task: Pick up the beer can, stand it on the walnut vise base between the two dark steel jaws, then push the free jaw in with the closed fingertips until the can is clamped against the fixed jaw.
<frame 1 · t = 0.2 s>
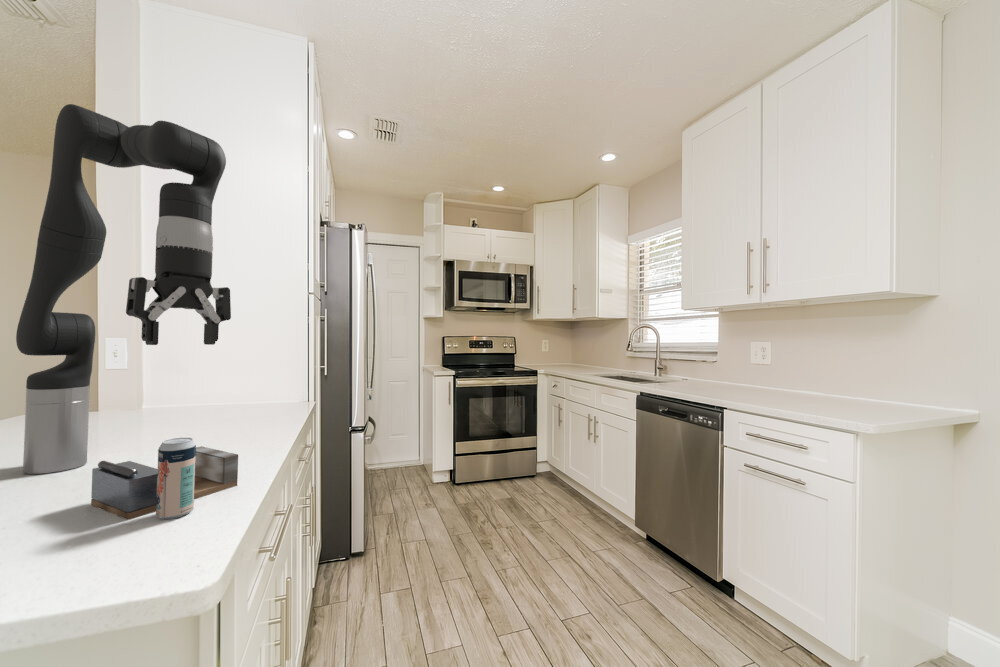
hand: (182, 344, 68), 28 cm above the table, fingers open, 8 cm apart
free jaw: (130, 480, 68), point 4 cm above the table, slide at 0.0 cm
beer can: (175, 515, 66), on the table
vise base: (169, 494, 73), on the table
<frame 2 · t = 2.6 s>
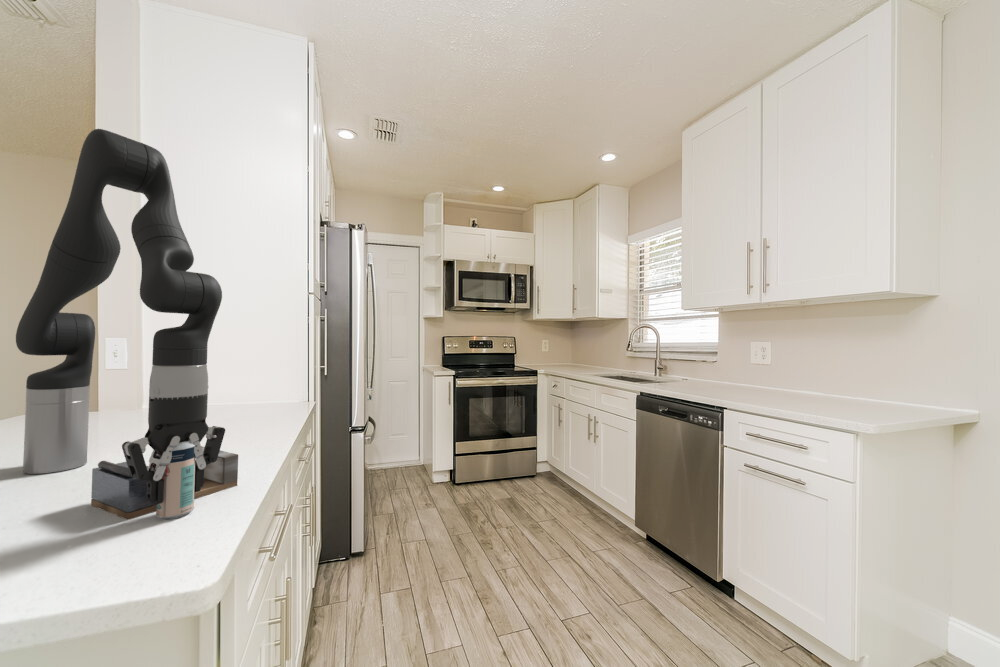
hand: (175, 496, 66), 3 cm above the table, fingers closed on beer can, 4 cm apart
beer can: (175, 515, 66), on the table, touching gripper
everything else where it was.
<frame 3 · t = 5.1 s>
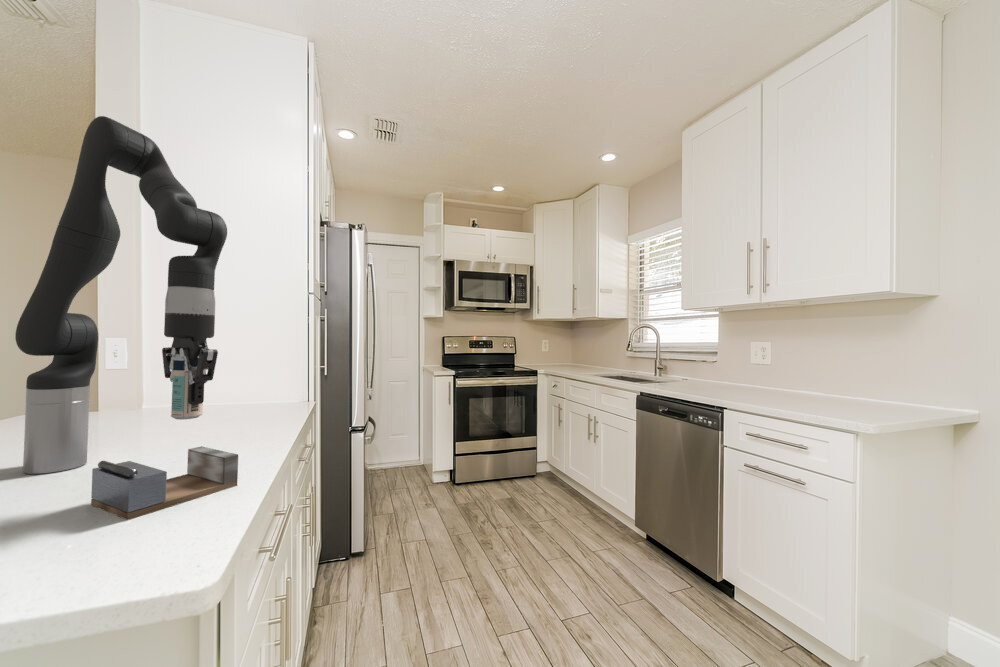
hand: (187, 402, 76), 16 cm above the table, fingers closed on beer can, 4 cm apart
beer can: (186, 418, 76), point 13 cm above the table, touching gripper
everything else where it was.
when the fingers open (5 cm above the table, at t = 7.5 s): beer can stays where it is, resting on vise base.
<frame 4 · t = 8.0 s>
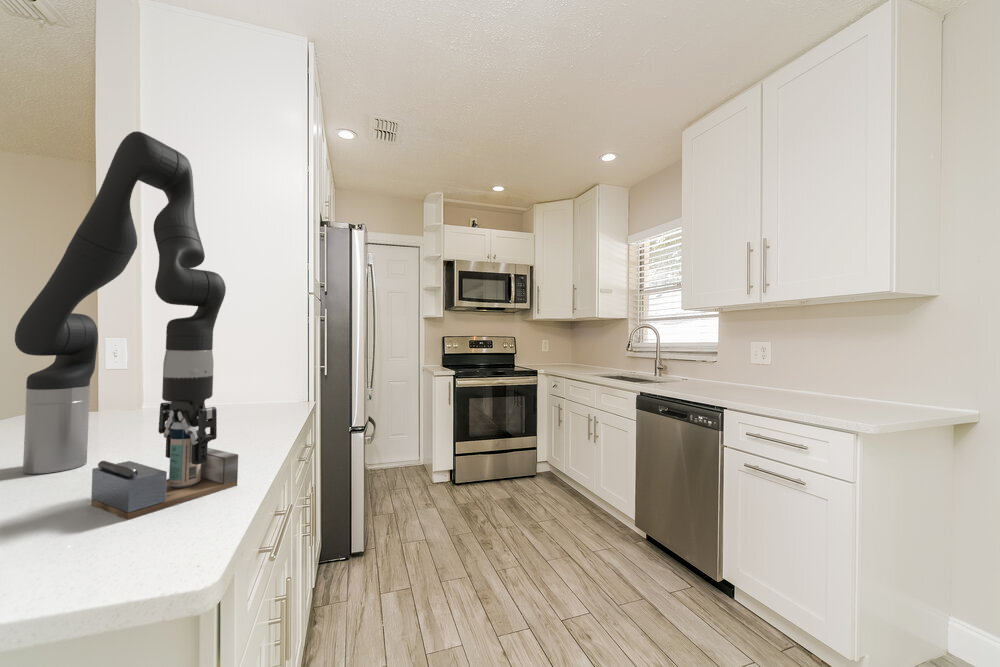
hand: (185, 460, 76), 6 cm above the table, fingers open, 8 cm apart
beer can: (184, 485, 76), point 1 cm above the table, touching vise base
everything else where it was.
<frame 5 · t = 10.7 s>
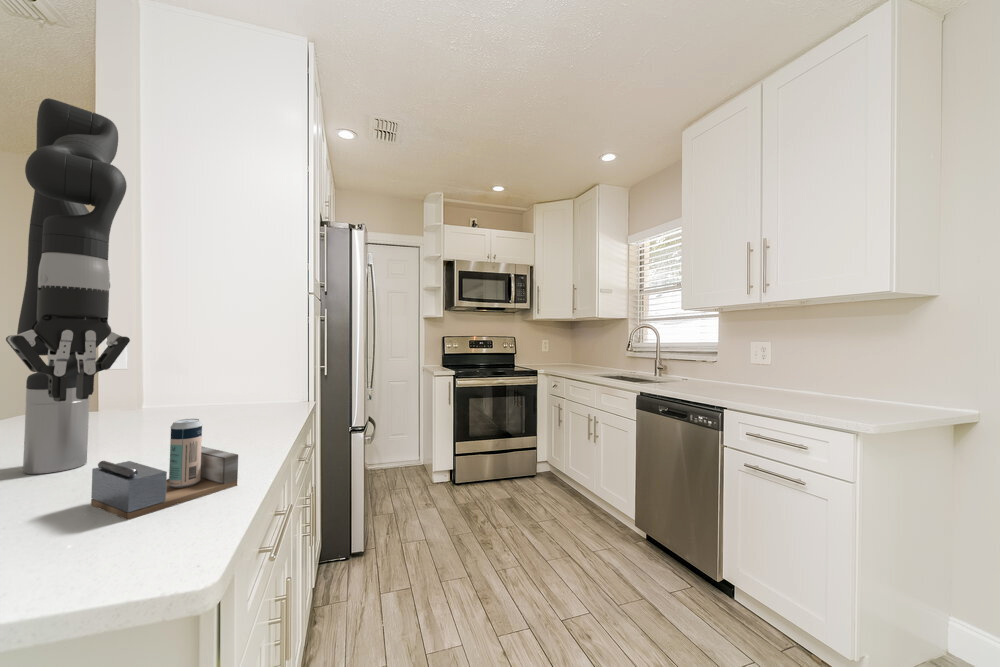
hand: (70, 399, 61), 19 cm above the table, fingers closed
nothing on the table moved.
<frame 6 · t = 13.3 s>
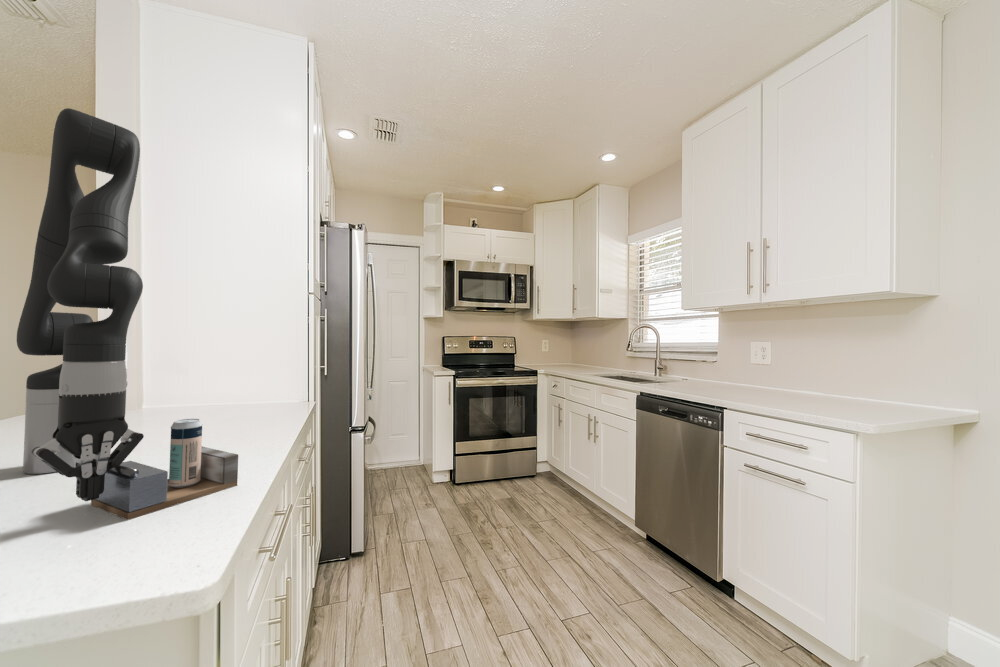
hand: (89, 498, 64), 3 cm above the table, fingers closed
free jaw: (131, 480, 68), point 4 cm above the table, slide at 0.2 cm, touching gripper
everything else where it was.
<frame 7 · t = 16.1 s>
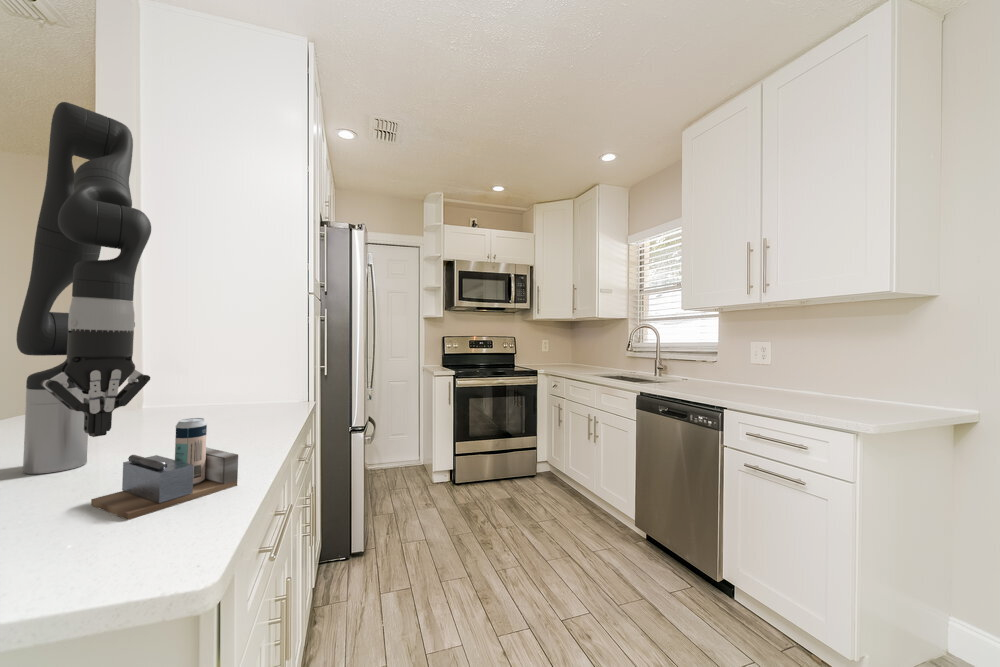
hand: (97, 435, 64), 13 cm above the table, fingers closed
free jaw: (158, 473, 72), point 4 cm above the table, slide at 4.1 cm
everything else where it was.
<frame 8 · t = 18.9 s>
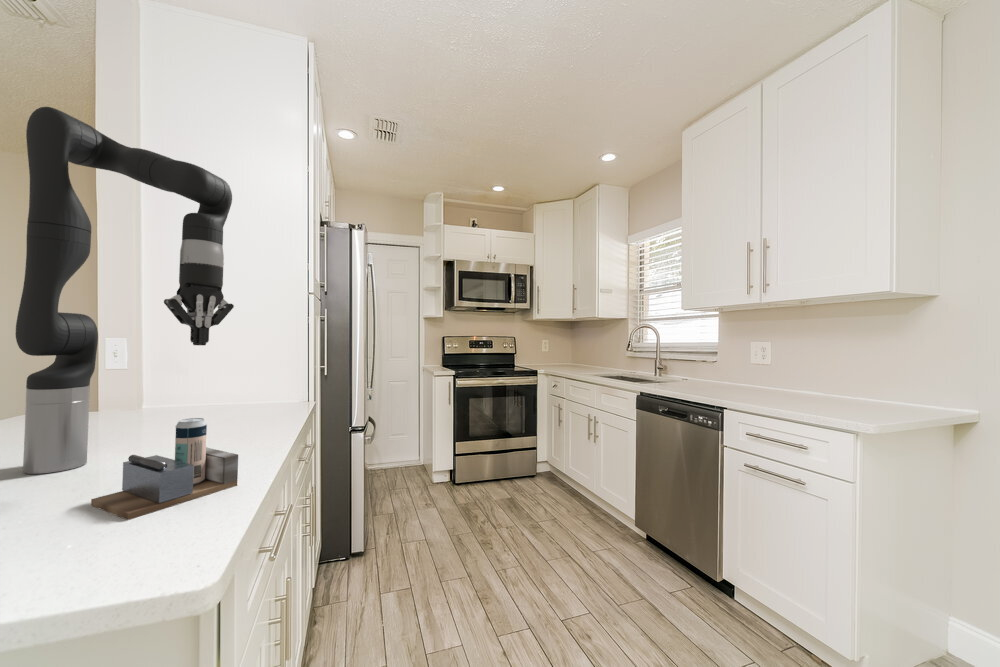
hand: (199, 345, 86), 27 cm above the table, fingers closed
nothing on the table moved.
at the end: free jaw slide at 4.1 cm; beer can inside the target area on the vise base (0.3 cm from its centre), point 0.8 cm above the vise base's base; beer can tilted 0° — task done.
